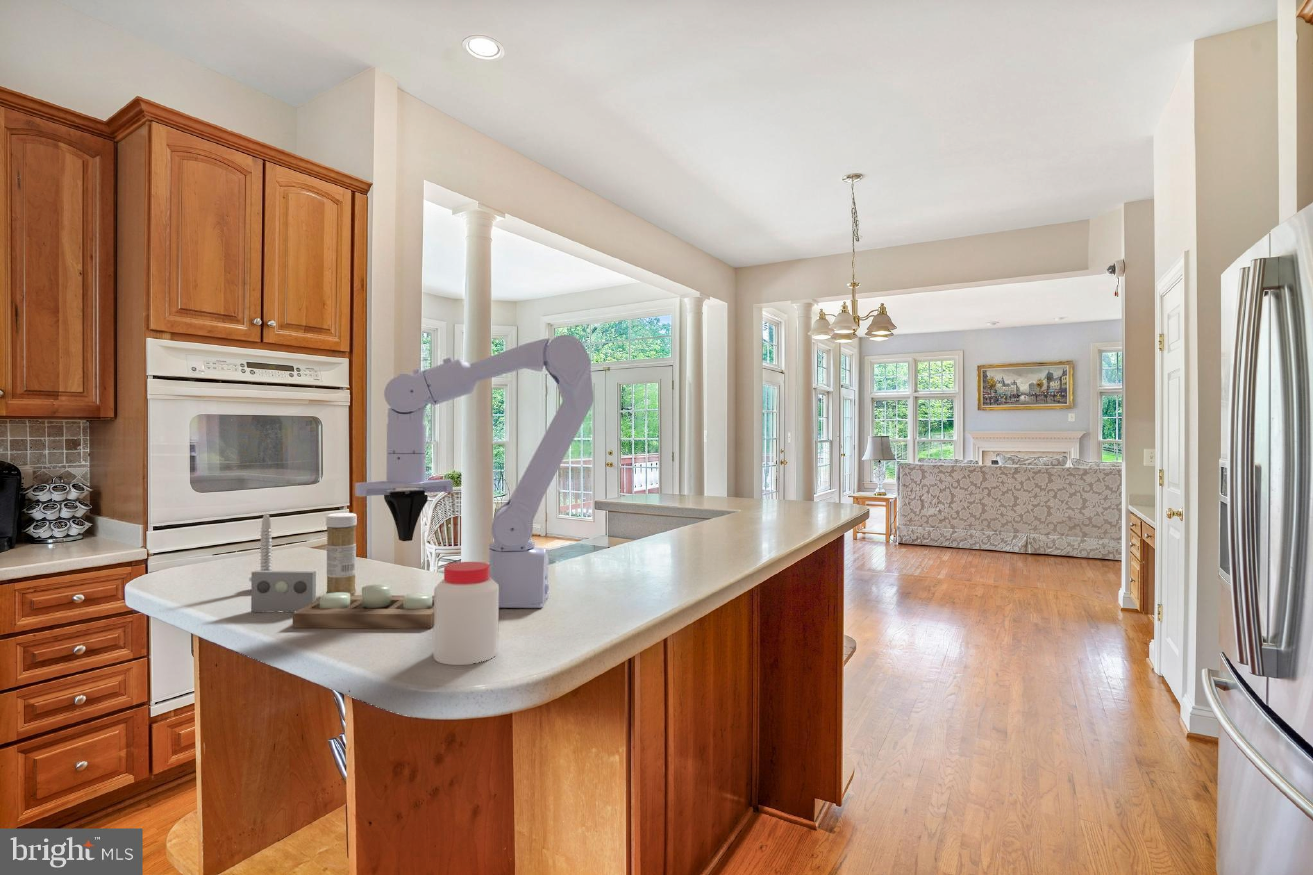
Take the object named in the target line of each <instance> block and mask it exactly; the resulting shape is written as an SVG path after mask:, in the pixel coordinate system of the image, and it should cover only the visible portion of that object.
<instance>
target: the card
mask: <svg viewBox="0 0 1313 875" xmlns="http://www.w3.org/2000/svg"><path fill="white" fill-rule="evenodd" d="M251 576H252V580H251V582H250V583H251V589H250V590H251V591H250V592H251V595H250V598H251V599H250V600H251V601H250V602H251V603H250V605H251V606H250V608H251V613H268V612H267V611H298V610H300V609H302V608H304V607H306V606H307V605H309V604H311V603H313V602H315V601H317V600H316V599H317V589H316V588H317V571H316V570H272V571H260V570H253V571H251ZM263 611H264V612H263Z"/></svg>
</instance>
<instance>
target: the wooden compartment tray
mask: <svg viewBox="0 0 1313 875" xmlns="http://www.w3.org/2000/svg"><path fill="white" fill-rule="evenodd" d="M404 596H406V595H395V594H393V595H392V594H391V604H390V605H388V606H384V607H378V608H366V607H362V594H353V595H350V606H348V607H347V608H345V609H320V598H319V599H317V600H316V601H315V602H313V603H311V604H309V605H307V606H306V607H304V608H302V609H300V610H298V611H296V612H292V629H427V630H428V629H429V630H430V629H432V628H434V595H432V608H430V609H403V597H404Z"/></svg>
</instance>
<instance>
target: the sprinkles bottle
mask: <svg viewBox="0 0 1313 875" xmlns="http://www.w3.org/2000/svg"><path fill="white" fill-rule="evenodd" d="M357 517H358V516H357V514H356V513H354V512H337V513H335V512H334V513H330V514H327V515H326V519H325V523H326V524H325V526H326V530H327V533H326V534H327V535H326V539H327V540H326V542H327V544H326V592H325V594H328V593H336V592H345V593H349V594H350V595H355V593H356V592H357V589H356V570H357V568H356V567H357V566H356V564H357V563H356V562H357V560H356V559H357V556H356V554H357V542H356V541H357V540H356V528H357V524H358V522H357V519H358V518H357Z"/></svg>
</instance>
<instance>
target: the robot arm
mask: <svg viewBox="0 0 1313 875" xmlns="http://www.w3.org/2000/svg"><path fill="white" fill-rule="evenodd" d="M586 349H587V348H586V347H585V346H584V344H583V342H582V341H581V340H580V338H577V337H576V336H573V335H571V334H561V335H558V336H556V337H554V338H553V339H552V340H551V338H549V337H548V338H542V339H538V340H534V341H530V342H526V343H524V344H520V345H519V346H515V347H512V348H509V349H507V350H504V351H502V352H499V353H496V354H494V355H490V356H488V357H485V358H482V359H480V360H477V361H475V362H472V363H470V362H467V361H465V360H463V359H460V358H457V359H454V360H453V358H451V357H446V358H444V359H442V362H443V363H442V364H438V365H435V366H432V367H429V368H425V369H424V370H421V369H420V368H416V369H413V371H412V373H413V375H411V374H410V373H400V374H398V375H397V376H395V377H393V378H391V379H390V380H389V381H388V383H386V386H385V388H384V394H383V395H384V399H385V402H386V403H387V404H386V405H388V406H389V407H388V408H387V424H386V473H385V474H386V479H385V480H382V481H369V482H368V481H367V482H355V485H354V487H355V488H354V489H355V490H354V491H355V492H354V494H355V495H354V496H356V497H361V498H364V497H368V496H369V497H371V496H383V499H384V501H385V502H384V503H386V505H387V507H388V509H389V510H390V513H391V515H392V519H393V520H394V523H395V527H396V532H397V536H398V537H397V538H398V540H399V541H401V542H411V541H413V537H414V533H415V530H416V527H417V524H418V520H419V517H420V516H421V514H422V511H423V510H424V508H425V506H426V504H427V502H428V500H429V495H428V494H427V493H442V492H443V493H444V492H446V493H451V492H454V487H453V486H454V480H453V479H451V478H450V479H449V478H443V479H442V478H441V479H436V478H435V479H426V477H427V476H426V475H427V474H426V473H427V472H426V471H427V470H426V468H427V466H426V465H427V464H426V463H427V462H426V461H427V460H426V459H427V458H426V457H427V424H426V408H427V406H428V404H429V405H432V406H437V405H439V404H443V403H445V402H449V401H452V400H454V399H457V398H460V397H463V396H466V395H467V396H468V395H469V394H472V393H473V391H474V389H475V387H476V385H477V384H478V383H479V382H482V381H486V380H489V379H493V378H496V377H500V376H503V375H506V374H510V373H513V372H516V371H521V370H523V369H525V370H531V371H535V372H542V371H543V369H544V368H545V370H546V372H547V373H549V375H550V377H551V378H552V379H553V380H554V382H555V383H556V387H557V389H558V391H559V394H560V397H561V403H560V405H559V407H558V408H557V410H556V412H555V415H554V416H553V418H552V420H551V421H550V423H549V425H548V427H547V429H546V431H545V433H544V435H543V437H542V439H541V441H540V443H539V444H538V446H537V447H536V450H535V452H534V454H533V455H532V457H531V460H530V461H529V462H528V465H527V467H526V469H525V471H524V472H523V474H522V476H521V478H520V480H519V482H518V484H517V485H516V487H515V489H514V490H513V491H512V494H511V495H510V498H509V499H508V500H507V502H505V503H504V504H502V505H501V506H499V508H498V509H497V510H496V511H495V513H494V516H493V518H492V523H491V537H492V539H493V541H492V542H490V543H489V545H488V564H489V565H490V577H491V578H492V579H493V580H494V581H495V582H497V583H498V585H499V609H500V608H503V609H504V608H505V609H507V608H510V609H512V608H513V609H515V608H517V609H518V608H519V609H520V608H521V609H522V608H523V609H530V608H531V609H533V608H534V609H538V608H539V609H540V608H543V607H544V605H545V603H546V601H547V598H549V590H550V589H549V584H550V583H549V550H548V548H546V547H537V546H536V543H535V541H533V540H532V539H531V538H532V536H533V531H534V520H535V516H536V515H537V513H538V511H539V509H540V506H541V503H542V501H543V498H544V497H545V495H546V493H547V491H548V489H549V487H550V485H551V483H552V481H553V479H554V477H555V476H556V474H557V472H558V470H559V468H560V466H561V464H562V463H563V461H564V459H565V457H566V455H567V453H568V451H569V449H570V448H571V445H572V443H573V442H574V440H575V438H576V436H577V434H578V432H579V430H580V429H581V427H582V424H584V423H583V422H585V419H586V417H587V415H588V413H589V411H590V409H591V408H592V406H593V403H594V391H593V381H592V380H593V379H592V361H591V358H590V355H589V353H588V351H587V350H586ZM397 489H401V490H397ZM402 489H403V490H402ZM405 489H406V490H405Z"/></svg>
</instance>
